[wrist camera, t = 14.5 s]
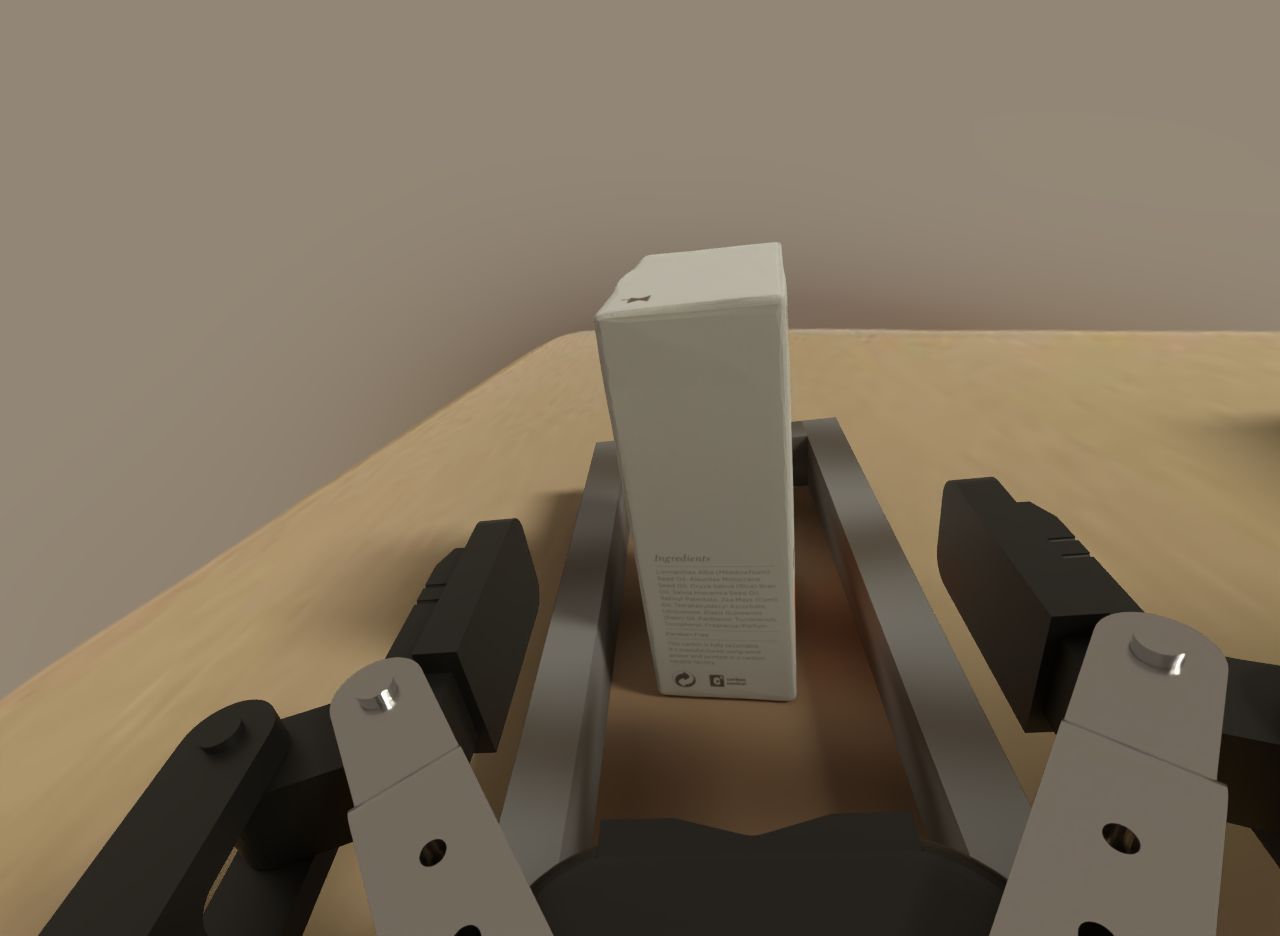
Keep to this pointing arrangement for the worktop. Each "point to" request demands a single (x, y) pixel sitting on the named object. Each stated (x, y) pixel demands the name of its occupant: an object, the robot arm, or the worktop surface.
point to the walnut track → (751, 728)
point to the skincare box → (707, 464)
